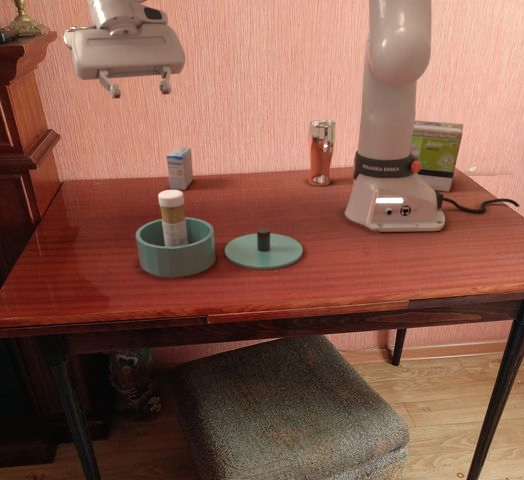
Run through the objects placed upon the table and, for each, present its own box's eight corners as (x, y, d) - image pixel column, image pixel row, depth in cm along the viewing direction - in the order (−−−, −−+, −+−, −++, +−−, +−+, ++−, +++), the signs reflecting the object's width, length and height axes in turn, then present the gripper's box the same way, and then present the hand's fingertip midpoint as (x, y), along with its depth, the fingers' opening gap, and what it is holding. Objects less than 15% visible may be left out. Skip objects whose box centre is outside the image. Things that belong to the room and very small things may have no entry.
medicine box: (177, 179, 143) (174, 147, 138) (193, 180, 143) (190, 147, 137) (169, 189, 137) (165, 155, 132) (186, 190, 136) (183, 156, 131)
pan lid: (306, 241, 110) (307, 217, 107) (297, 275, 98) (298, 249, 95) (234, 236, 112) (233, 212, 109) (216, 269, 100) (214, 244, 97)
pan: (223, 248, 107) (221, 219, 104) (204, 282, 96) (201, 250, 92) (155, 243, 110) (151, 214, 106) (129, 276, 98) (123, 245, 94)
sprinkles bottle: (181, 253, 105) (174, 186, 97) (194, 261, 102) (188, 193, 94) (162, 259, 103) (153, 192, 95) (174, 267, 100) (166, 199, 92)
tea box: (390, 187, 137) (399, 127, 128) (395, 175, 145) (403, 118, 136) (450, 192, 133) (463, 131, 125) (451, 180, 141) (463, 122, 132)
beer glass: (334, 179, 142) (339, 120, 134) (328, 187, 137) (333, 127, 128) (310, 176, 144) (312, 118, 135) (303, 184, 139) (305, 125, 130)
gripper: (60, 13, 89) (84, 87, 88) (173, 11, 97) (197, 79, 96) (60, 40, 94) (83, 110, 93) (167, 37, 103) (189, 100, 102)
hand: (142, 94), depth 95 cm, fingers open, 8 cm apart
